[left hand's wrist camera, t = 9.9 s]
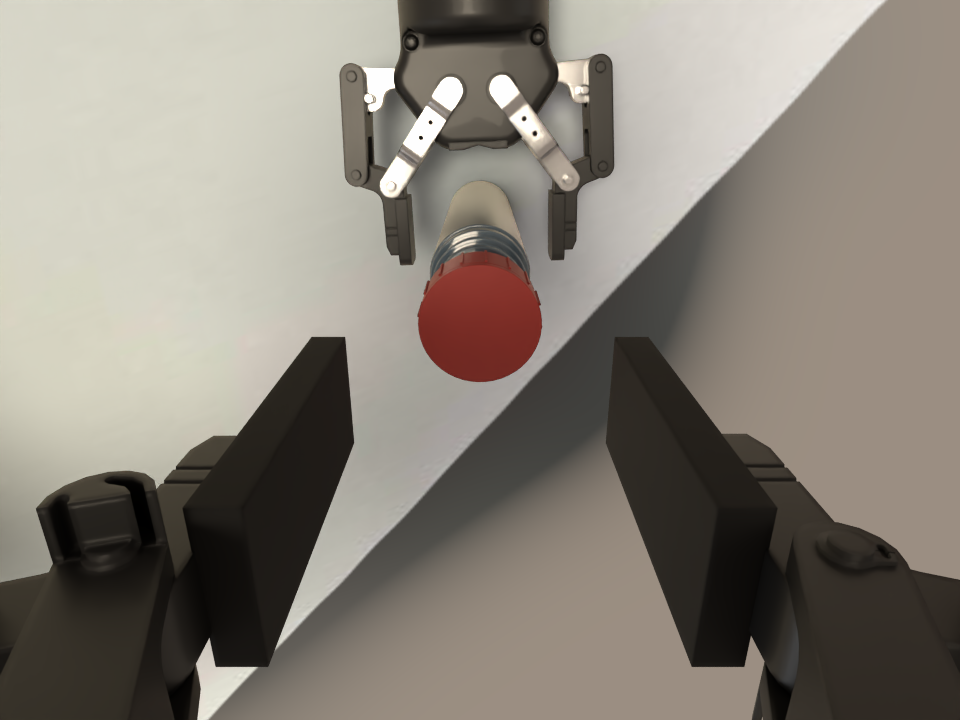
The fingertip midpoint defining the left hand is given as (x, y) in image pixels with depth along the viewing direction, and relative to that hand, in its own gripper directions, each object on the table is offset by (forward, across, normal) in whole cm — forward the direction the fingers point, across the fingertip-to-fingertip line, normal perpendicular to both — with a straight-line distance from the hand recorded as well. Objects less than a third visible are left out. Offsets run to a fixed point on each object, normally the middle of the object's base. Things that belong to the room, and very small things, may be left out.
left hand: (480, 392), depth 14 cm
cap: (+5, 0, 0) cm, 5 cm away
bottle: (+29, 0, 0) cm, 29 cm away
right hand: (+22, 0, -2) cm, 22 cm away
